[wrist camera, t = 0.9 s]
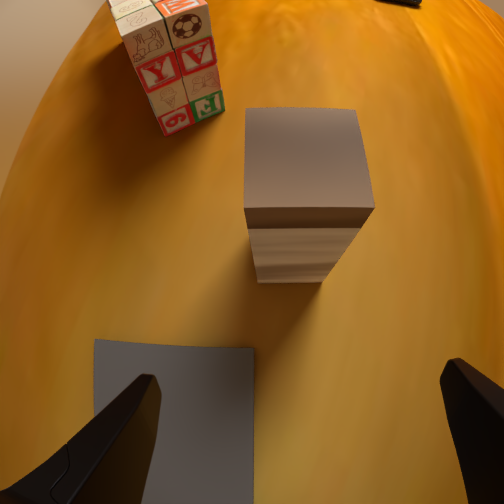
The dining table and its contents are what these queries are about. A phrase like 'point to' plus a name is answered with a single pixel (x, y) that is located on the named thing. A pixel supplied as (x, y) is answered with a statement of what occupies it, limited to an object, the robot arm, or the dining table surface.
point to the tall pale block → (303, 190)
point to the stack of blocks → (172, 58)
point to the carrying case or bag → (407, 2)
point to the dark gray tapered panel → (190, 417)
